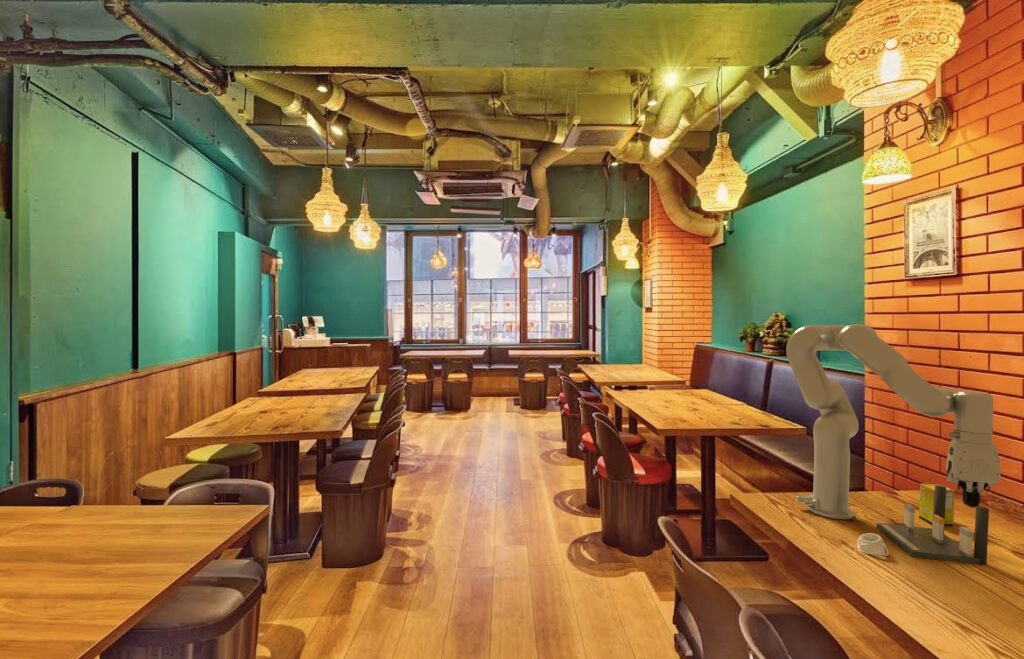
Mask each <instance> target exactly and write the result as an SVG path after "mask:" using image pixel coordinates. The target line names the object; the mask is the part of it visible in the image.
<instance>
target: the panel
mask: <svg viewBox="0 0 1024 659" xmlns="http://www.w3.org/2000/svg"><path fill="white" fill-rule="evenodd" d="M875 526H876V530H878V531H879V532H880V533H882V534H883V535H885V537H887V538H888V539H889V540H890V541H892V542H893V543H894V544H896V545H897V546H898V547H899V548H901V549H902V551H904V552H905V553H907V555H909V556H910V557H912V558H918V559H928V560H935V561H936V560H937V561H945V562H946V561H947V562H955V563H956V562H957V563H964V564H965V563H966V564H973V565H980V558H977V557H975V556H974V552H972V555H968V554H966V553H964V552H963V551H961V550H960V549H959V542H956V541H955V540H953V539H952V538H950V537H949V536H947V535H946V534H945V533H944V534H943V541H940V540H938V539H936V538H935V537H933V536H932V527H931V528H930V527H920V526H914V528H910V527H908V526H907V525H906V524H904V525H901V524H890V523H889V524H888V523H879V522H876V525H875Z"/></svg>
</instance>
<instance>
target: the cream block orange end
mask: <svg viewBox="0 0 1024 659" xmlns="http://www.w3.org/2000/svg"><path fill="white" fill-rule="evenodd" d="M932 520H933V522H932V525H931V526H932V527H931V528H932V536H933V537H935V538H936V539H938V540H940V541H943V533H944V534H945V527H944V519H943V518H941V517H940V516H938V515H933V514H932Z"/></svg>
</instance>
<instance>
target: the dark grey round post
mask: <svg viewBox="0 0 1024 659" xmlns="http://www.w3.org/2000/svg"><path fill="white" fill-rule="evenodd" d="M941 485H942V484H940V485H935V500H934V515H938V516H940V517H941V518H943V519H944V528H945V527H946V526H945V505H946V487H947V486H945V485H943V486H941ZM989 514H990V509H989V508H988V507H984V506H980V505H979V506H976V508H975V516H974V517H975V518H974V520H975V521H974V538H973V542H974V543H973V544H974V545H973V554H974V556H975V557H977V558H980V564H979V565H981V566H987V564H988V563H987V561H988V560H987V559H988V541H989V540H988V539H989V521H990V520H989V519H990V518H989V517H990V515H989ZM943 534H944V535H945V532H944V533H943Z"/></svg>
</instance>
